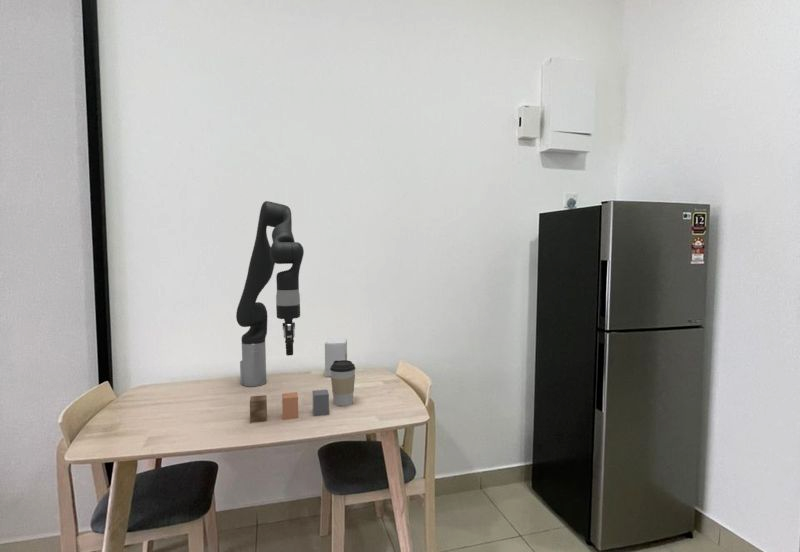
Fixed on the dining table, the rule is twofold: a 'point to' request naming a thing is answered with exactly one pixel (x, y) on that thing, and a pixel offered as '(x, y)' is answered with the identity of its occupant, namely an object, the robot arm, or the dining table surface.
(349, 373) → the coffee cup
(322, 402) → the charcoal block
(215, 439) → the dining table surface
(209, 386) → the dining table surface
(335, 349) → the supplement box
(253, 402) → the walnut block
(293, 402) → the terracotta block
